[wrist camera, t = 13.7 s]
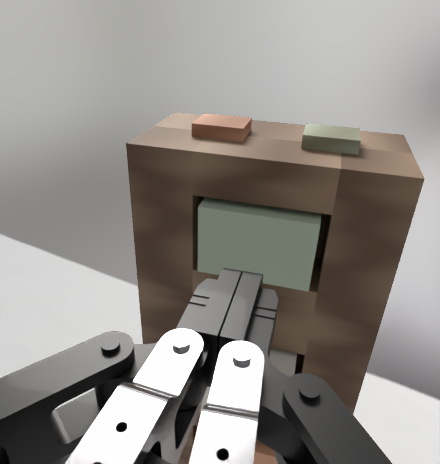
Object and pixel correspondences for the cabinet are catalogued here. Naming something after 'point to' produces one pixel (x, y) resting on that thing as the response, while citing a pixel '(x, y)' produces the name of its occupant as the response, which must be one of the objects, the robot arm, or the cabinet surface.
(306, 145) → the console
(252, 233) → the key top
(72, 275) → the cabinet surface
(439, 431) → the cabinet surface
